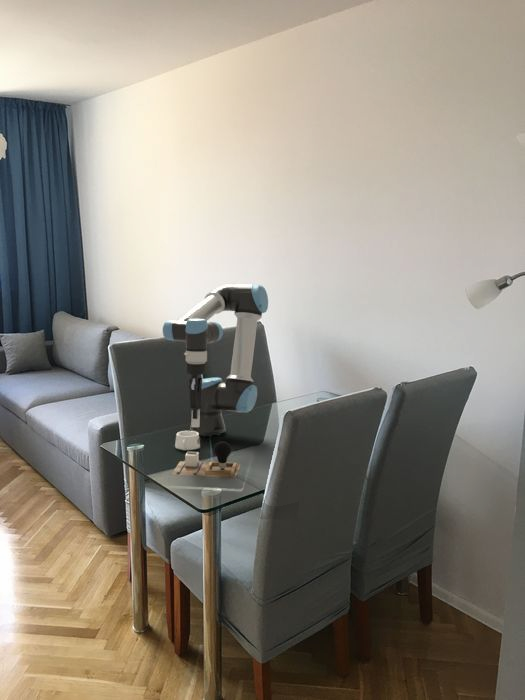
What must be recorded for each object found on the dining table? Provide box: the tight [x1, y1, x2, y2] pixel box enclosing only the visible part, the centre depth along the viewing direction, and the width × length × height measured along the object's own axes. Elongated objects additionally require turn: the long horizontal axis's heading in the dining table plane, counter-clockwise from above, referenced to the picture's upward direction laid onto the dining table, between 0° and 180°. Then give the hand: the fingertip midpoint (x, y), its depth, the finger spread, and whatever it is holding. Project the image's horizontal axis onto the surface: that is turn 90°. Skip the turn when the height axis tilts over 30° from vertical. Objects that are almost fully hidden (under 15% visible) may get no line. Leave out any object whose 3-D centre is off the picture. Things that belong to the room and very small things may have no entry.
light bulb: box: [213, 440, 232, 470], centre depth 206 cm, size 6×6×10 cm
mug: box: [174, 430, 201, 451], centre depth 231 cm, size 12×10×6 cm
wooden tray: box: [170, 460, 241, 478], centre depth 207 cm, size 14×22×2 cm, turn 86°
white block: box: [184, 451, 200, 467], centre depth 210 cm, size 4×4×5 cm
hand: (195, 426), depth 216 cm, fingers closed
